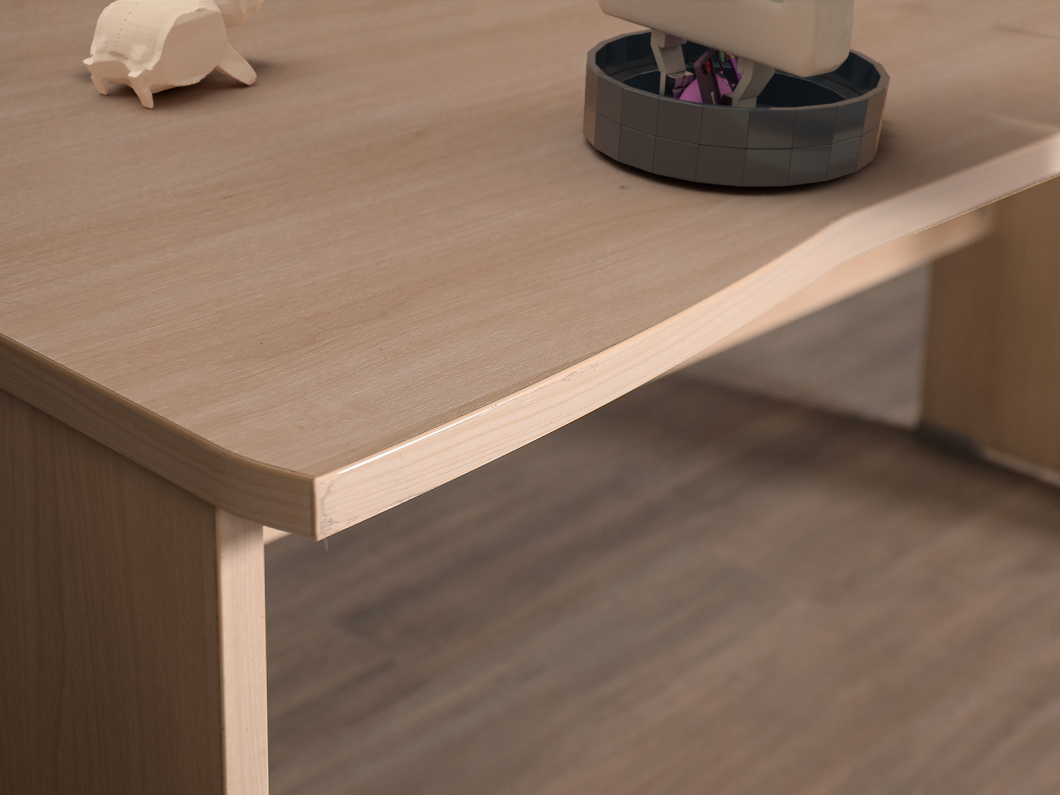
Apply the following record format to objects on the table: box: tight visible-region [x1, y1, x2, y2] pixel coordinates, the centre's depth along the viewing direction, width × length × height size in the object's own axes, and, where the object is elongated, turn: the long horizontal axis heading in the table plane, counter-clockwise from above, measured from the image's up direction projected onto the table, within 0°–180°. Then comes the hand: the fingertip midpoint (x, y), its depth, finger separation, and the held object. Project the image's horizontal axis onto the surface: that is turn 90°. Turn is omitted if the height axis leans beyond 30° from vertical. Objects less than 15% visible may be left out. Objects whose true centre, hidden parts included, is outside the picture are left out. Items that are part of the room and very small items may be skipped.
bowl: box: [582, 28, 891, 188], centre depth 85 cm, size 20×20×6 cm
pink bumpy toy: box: [679, 48, 743, 105], centre depth 83 cm, size 7×5×9 cm
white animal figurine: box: [82, 0, 265, 109], centre depth 93 cm, size 9×8×15 cm
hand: (704, 109), depth 83 cm, fingers closed on pink bumpy toy, 4 cm apart
